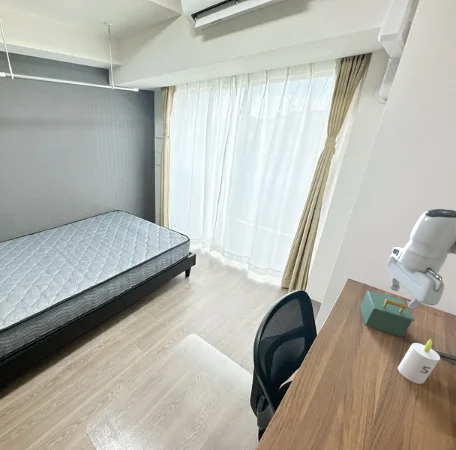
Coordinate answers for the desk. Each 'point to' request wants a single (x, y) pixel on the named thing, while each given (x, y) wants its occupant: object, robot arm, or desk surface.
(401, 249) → the robot arm
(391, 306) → the box lid
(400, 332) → the box
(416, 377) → the candle
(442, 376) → the desk surface
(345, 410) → the desk surface
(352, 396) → the desk surface
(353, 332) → the desk surface
